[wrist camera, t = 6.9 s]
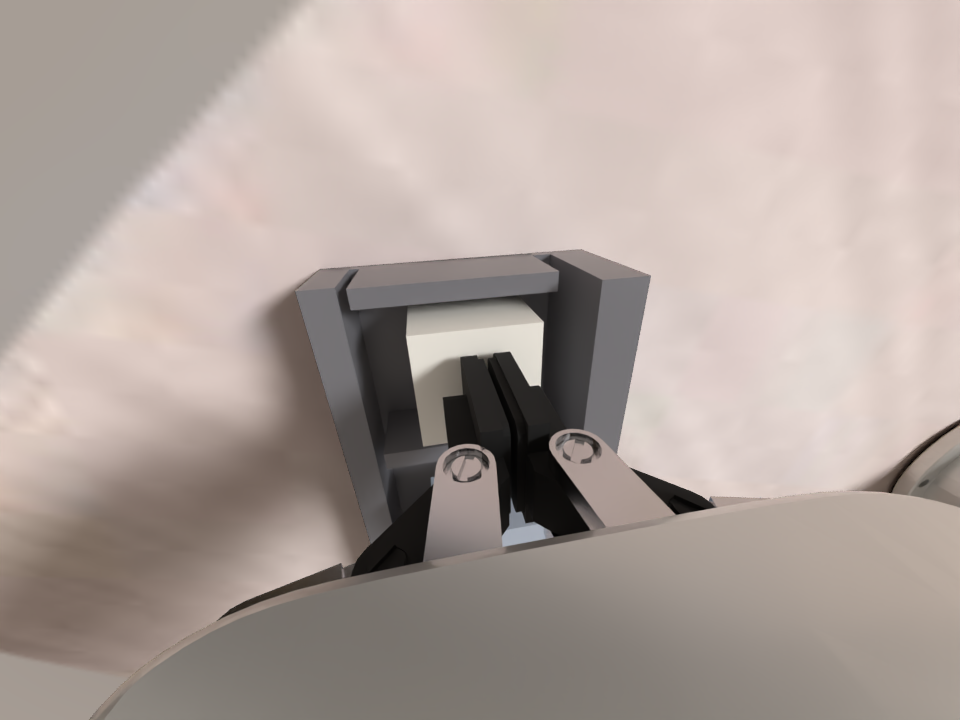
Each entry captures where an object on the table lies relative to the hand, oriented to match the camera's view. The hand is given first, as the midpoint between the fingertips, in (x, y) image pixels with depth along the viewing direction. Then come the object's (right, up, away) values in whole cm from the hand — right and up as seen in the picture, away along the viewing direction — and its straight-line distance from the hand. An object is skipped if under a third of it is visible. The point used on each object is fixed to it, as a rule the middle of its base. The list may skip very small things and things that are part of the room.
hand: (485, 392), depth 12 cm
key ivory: (-1, +2, +3) cm, 3 cm away
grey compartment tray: (-1, -8, +9) cm, 12 cm away
